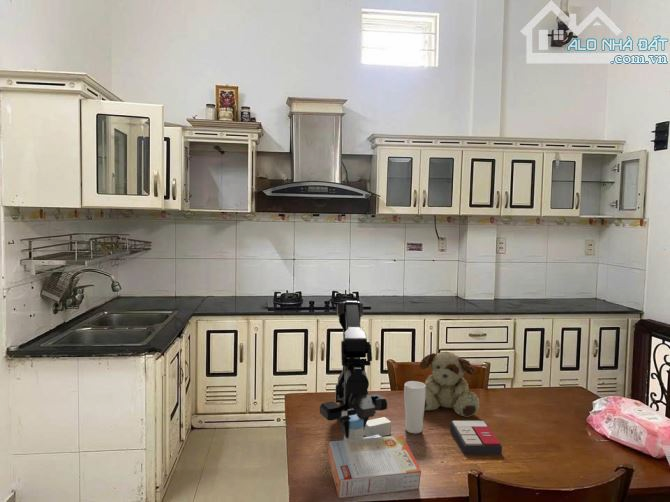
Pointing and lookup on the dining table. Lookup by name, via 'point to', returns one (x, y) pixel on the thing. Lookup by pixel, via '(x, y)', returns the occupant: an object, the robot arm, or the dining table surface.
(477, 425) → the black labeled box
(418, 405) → the drinking glass
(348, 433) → the robot arm
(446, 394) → the dog
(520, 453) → the dining table surface
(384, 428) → the plug
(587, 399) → the dining table surface
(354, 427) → the plug
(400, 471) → the cracker box
